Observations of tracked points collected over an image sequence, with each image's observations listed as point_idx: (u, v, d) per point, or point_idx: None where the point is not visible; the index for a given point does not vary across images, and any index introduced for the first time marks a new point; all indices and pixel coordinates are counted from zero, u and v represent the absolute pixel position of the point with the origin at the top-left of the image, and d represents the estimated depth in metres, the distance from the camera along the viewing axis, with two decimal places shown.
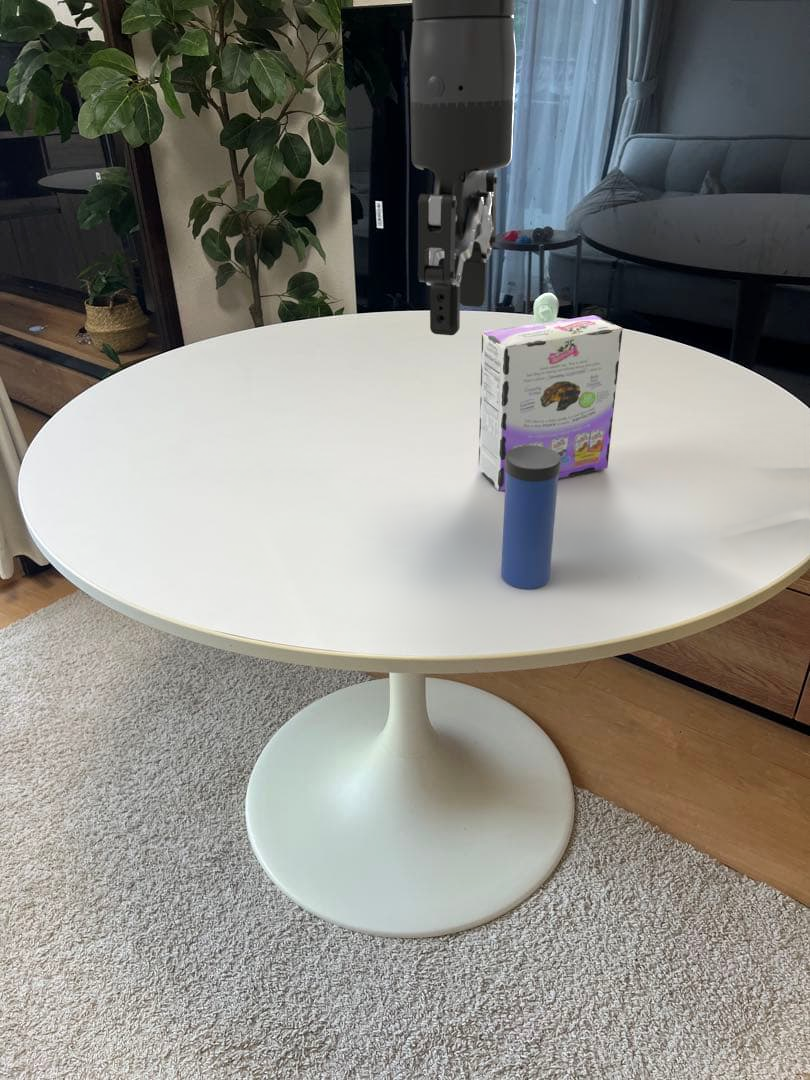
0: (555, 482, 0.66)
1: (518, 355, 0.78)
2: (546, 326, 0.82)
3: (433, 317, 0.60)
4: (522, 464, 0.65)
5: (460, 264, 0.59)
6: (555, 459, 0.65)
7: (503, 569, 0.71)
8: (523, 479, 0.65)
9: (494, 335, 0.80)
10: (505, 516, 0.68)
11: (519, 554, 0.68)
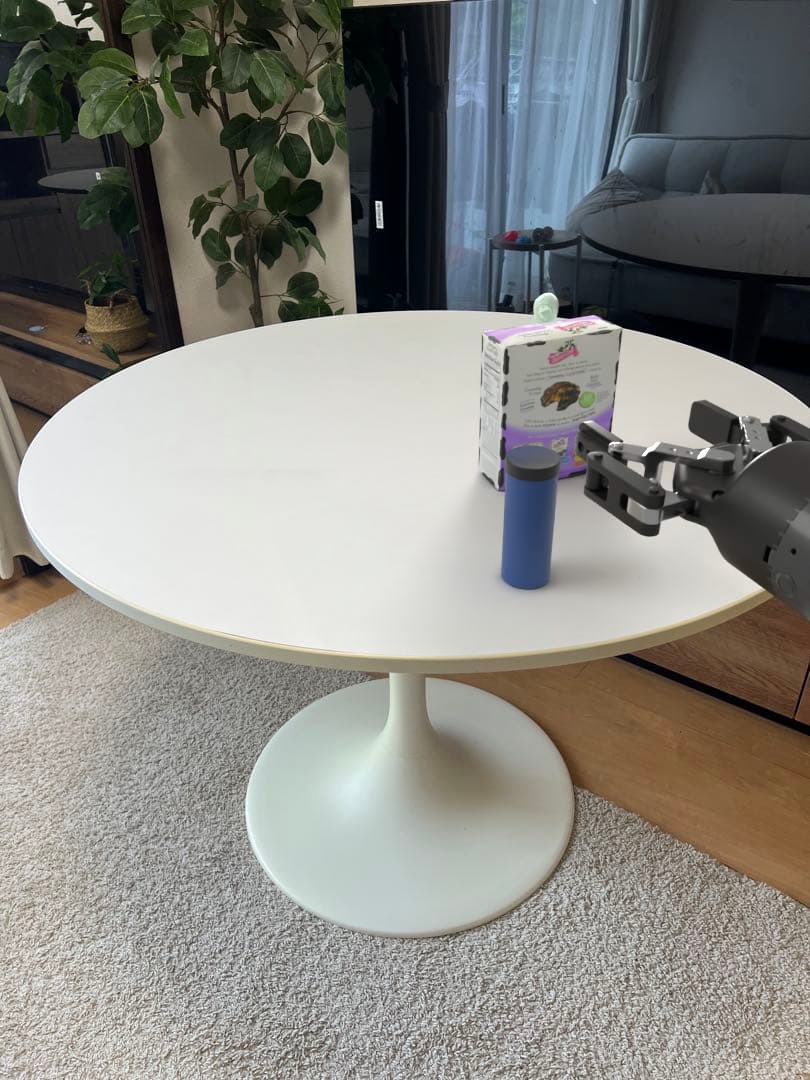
0: (555, 482, 0.66)
1: (518, 355, 0.78)
2: (546, 326, 0.82)
3: None
4: (522, 464, 0.65)
5: None
6: (555, 459, 0.65)
7: (503, 569, 0.71)
8: (523, 479, 0.65)
9: (494, 335, 0.80)
10: (505, 516, 0.68)
11: (519, 554, 0.68)
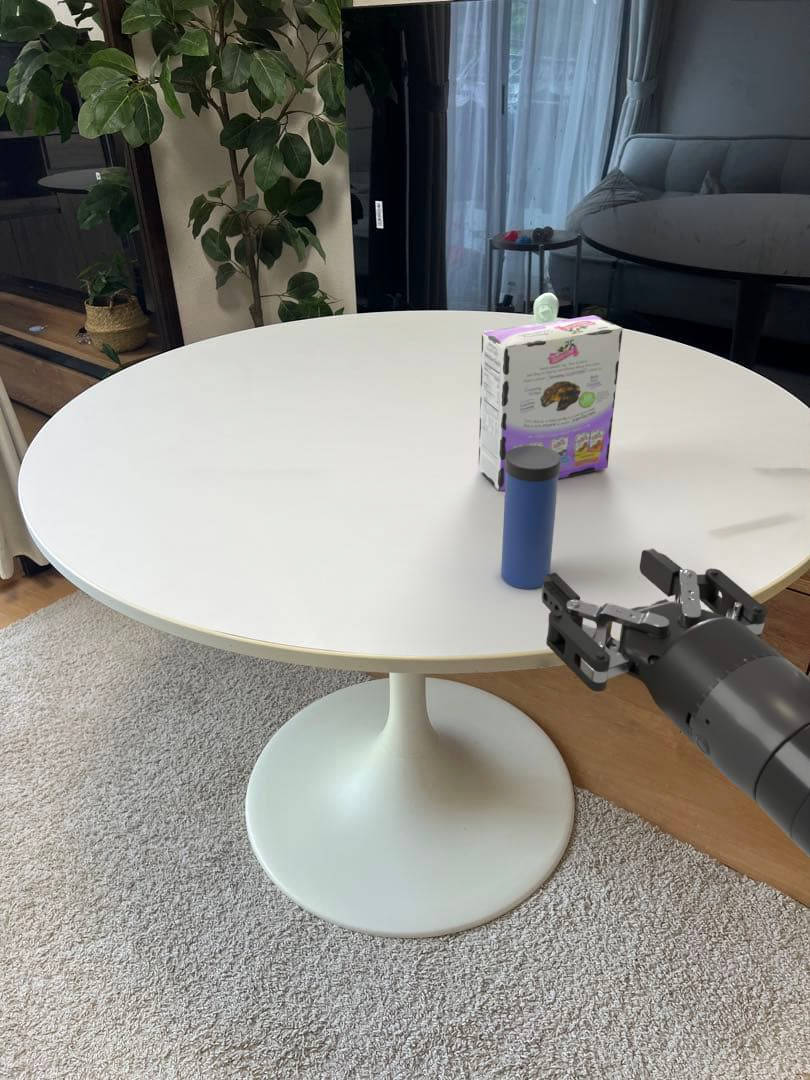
0: (555, 482, 0.66)
1: (518, 355, 0.78)
2: (546, 326, 0.82)
3: None
4: (522, 464, 0.65)
5: (690, 582, 0.56)
6: (555, 459, 0.65)
7: (503, 569, 0.71)
8: (523, 479, 0.65)
9: (494, 335, 0.80)
10: (505, 516, 0.68)
11: (519, 554, 0.68)
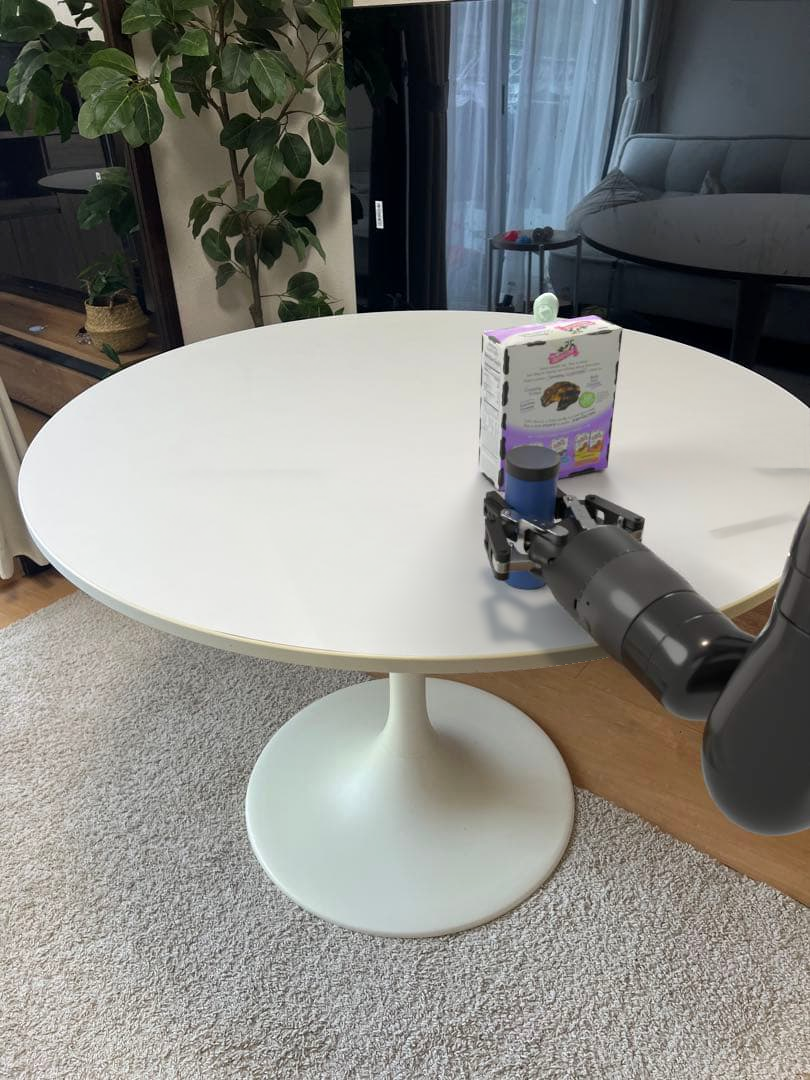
0: (555, 482, 0.66)
1: (518, 355, 0.78)
2: (546, 326, 0.82)
3: None
4: (522, 464, 0.65)
5: (574, 504, 0.66)
6: (555, 459, 0.65)
7: None
8: (523, 479, 0.65)
9: (494, 335, 0.80)
10: None
11: None
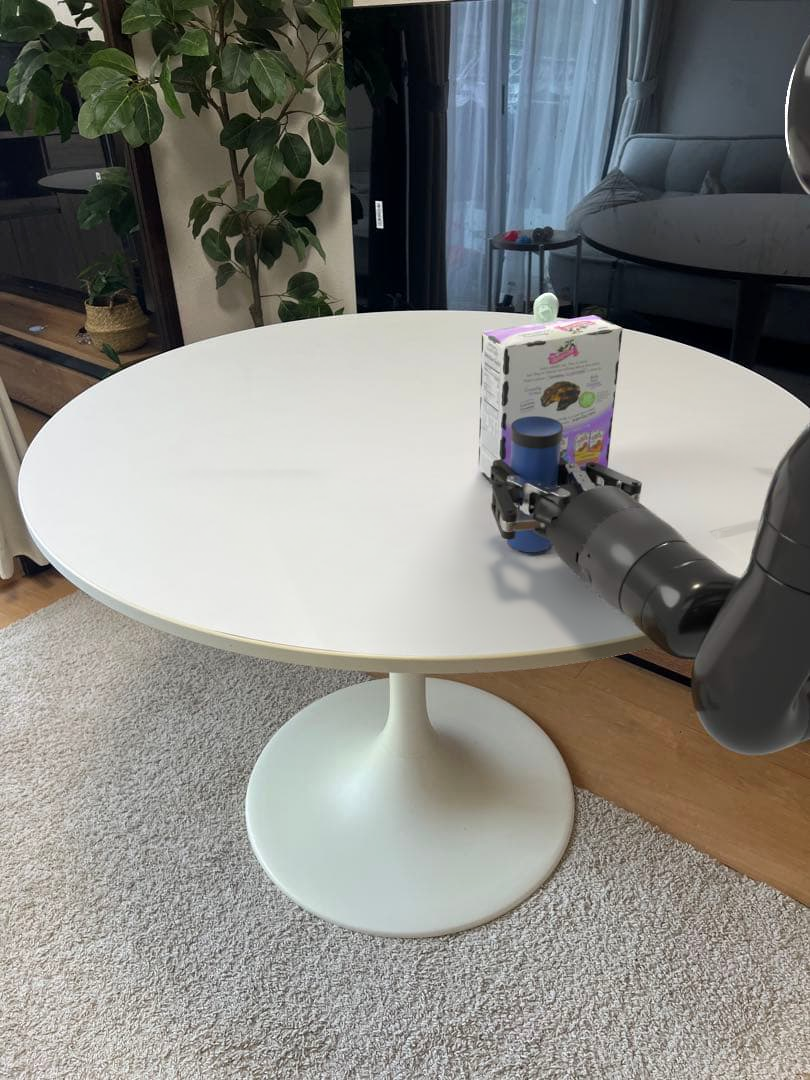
0: (558, 449, 0.70)
1: (518, 355, 0.78)
2: (546, 326, 0.82)
3: None
4: (526, 432, 0.69)
5: (576, 470, 0.71)
6: (557, 428, 0.70)
7: None
8: (528, 446, 0.69)
9: (494, 335, 0.80)
10: None
11: None
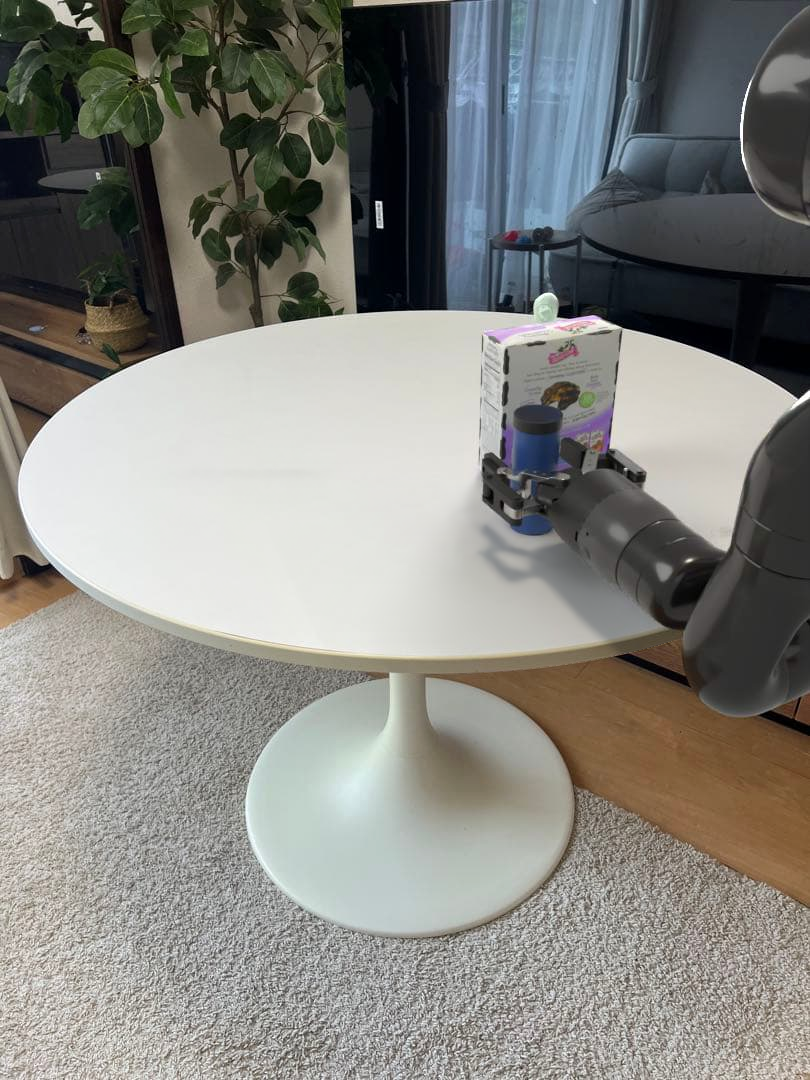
0: (558, 436, 0.73)
1: (518, 355, 0.78)
2: (546, 326, 0.82)
3: None
4: (528, 419, 0.72)
5: (593, 456, 0.74)
6: (558, 415, 0.73)
7: None
8: (529, 432, 0.72)
9: (494, 335, 0.80)
10: (513, 468, 0.76)
11: None
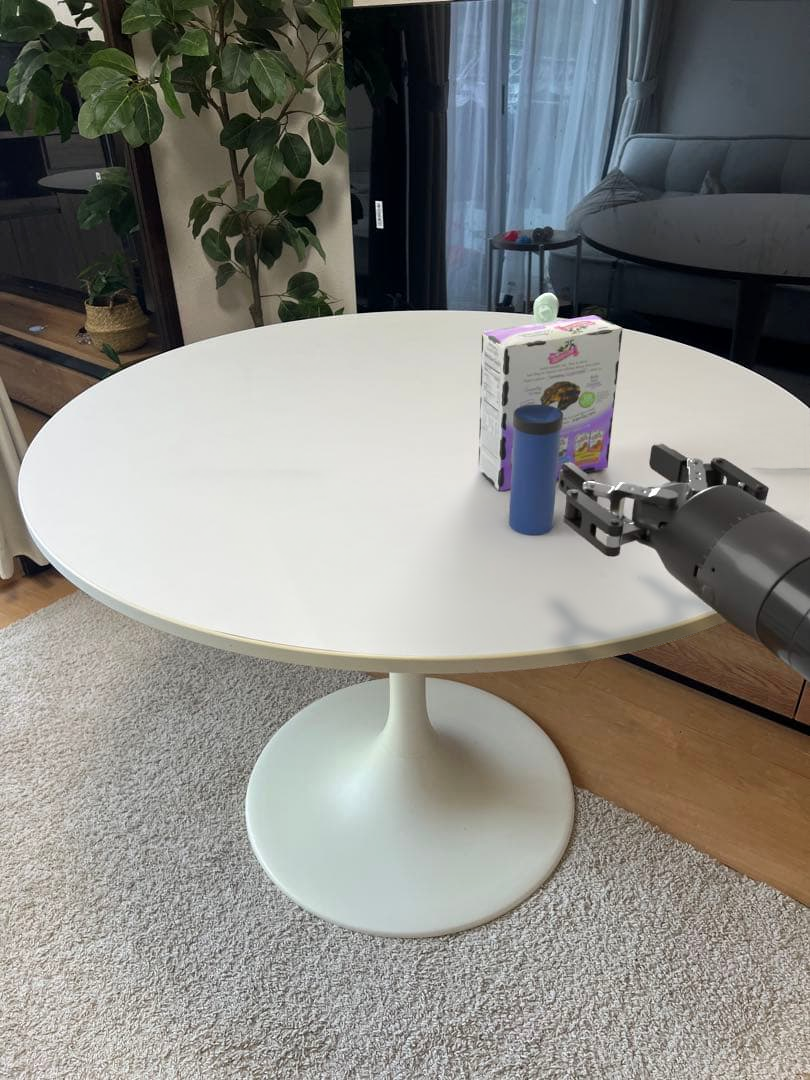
0: (558, 436, 0.73)
1: (518, 355, 0.78)
2: (546, 326, 0.82)
3: None
4: (528, 419, 0.72)
5: (697, 467, 0.61)
6: (558, 415, 0.73)
7: (511, 517, 0.79)
8: (529, 432, 0.72)
9: (494, 335, 0.80)
10: (513, 468, 0.76)
11: (526, 502, 0.76)
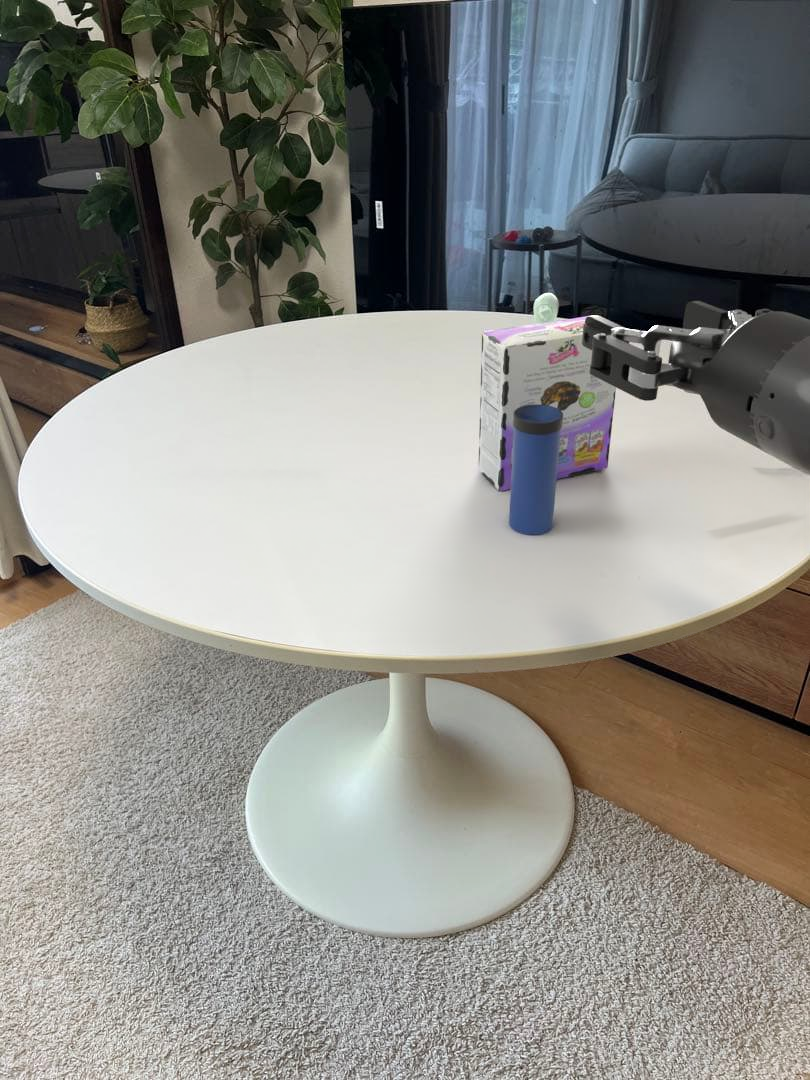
0: (558, 436, 0.73)
1: (518, 355, 0.78)
2: (546, 326, 0.82)
3: None
4: (528, 419, 0.72)
5: None
6: (558, 415, 0.73)
7: (511, 517, 0.79)
8: (529, 432, 0.72)
9: (494, 335, 0.80)
10: (513, 468, 0.76)
11: (526, 502, 0.76)
